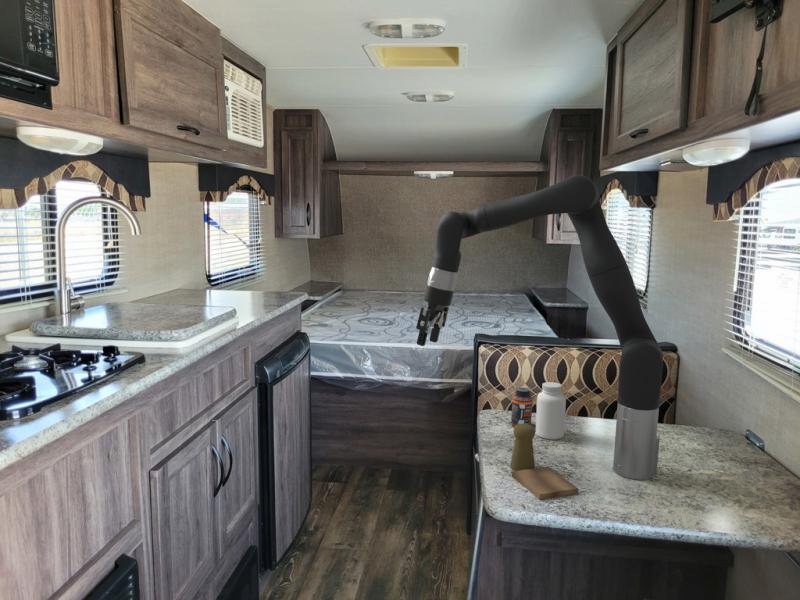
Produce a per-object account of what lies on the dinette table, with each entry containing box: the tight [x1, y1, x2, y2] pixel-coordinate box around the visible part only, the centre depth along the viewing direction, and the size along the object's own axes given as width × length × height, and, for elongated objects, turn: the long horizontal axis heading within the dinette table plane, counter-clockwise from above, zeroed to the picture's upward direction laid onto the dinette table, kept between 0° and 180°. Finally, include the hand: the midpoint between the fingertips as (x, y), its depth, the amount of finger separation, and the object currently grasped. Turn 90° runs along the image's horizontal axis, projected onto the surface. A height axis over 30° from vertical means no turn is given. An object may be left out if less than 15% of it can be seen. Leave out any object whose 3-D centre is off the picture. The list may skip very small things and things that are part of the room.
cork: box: [509, 424, 536, 471], centre depth 141 cm, size 6×6×11 cm
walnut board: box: [511, 466, 579, 500], centre depth 133 cm, size 10×12×1 cm
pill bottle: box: [535, 381, 567, 441], centre depth 163 cm, size 8×8×15 cm
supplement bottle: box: [510, 386, 534, 427], centre depth 170 cm, size 6×6×11 cm
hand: (426, 343), depth 155 cm, fingers open, 8 cm apart
